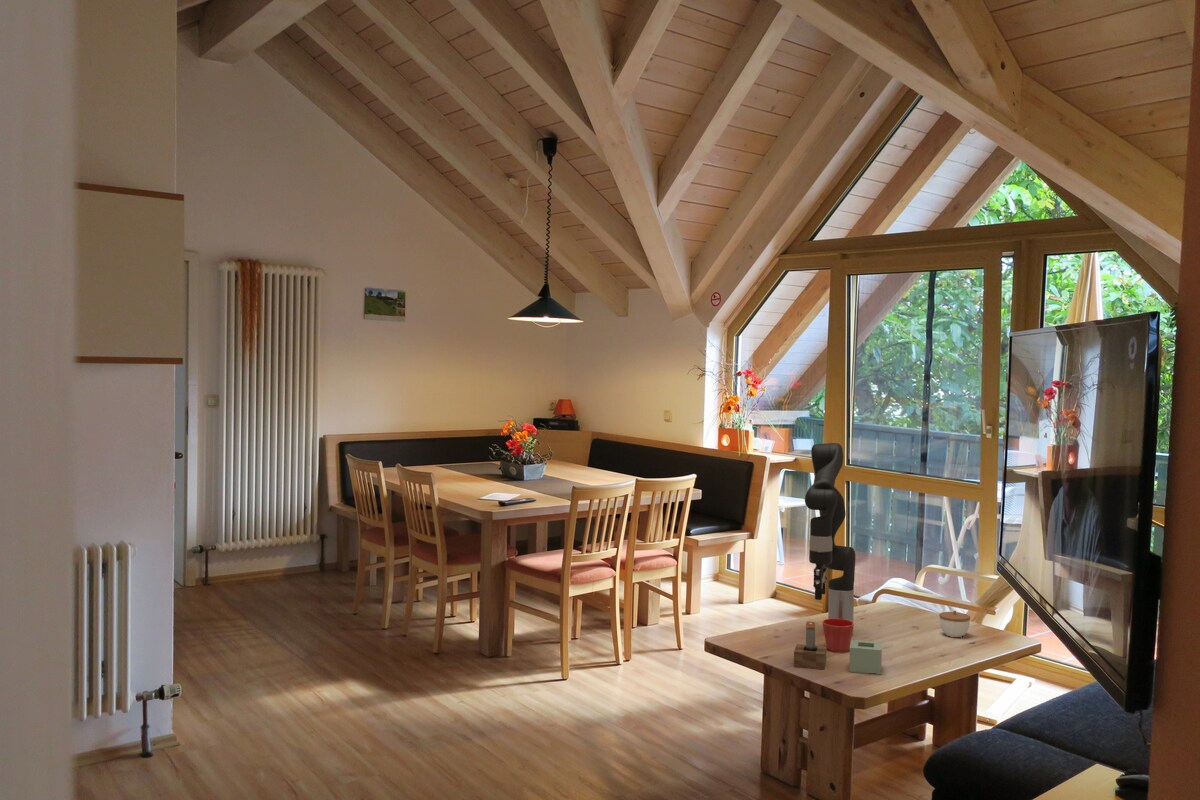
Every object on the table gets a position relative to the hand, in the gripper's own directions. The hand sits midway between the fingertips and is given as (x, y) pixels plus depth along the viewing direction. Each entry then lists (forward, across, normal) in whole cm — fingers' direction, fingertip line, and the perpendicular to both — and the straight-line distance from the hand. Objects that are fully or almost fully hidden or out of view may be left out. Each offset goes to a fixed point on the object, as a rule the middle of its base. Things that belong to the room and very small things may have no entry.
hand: (820, 596), depth 317 cm
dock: (+23, -2, +15) cm, 27 cm away
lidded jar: (+23, -57, +42) cm, 74 cm away
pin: (+23, 0, -3) cm, 23 cm away
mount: (+23, 0, -3) cm, 23 cm away
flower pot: (+23, -22, +3) cm, 32 cm away
